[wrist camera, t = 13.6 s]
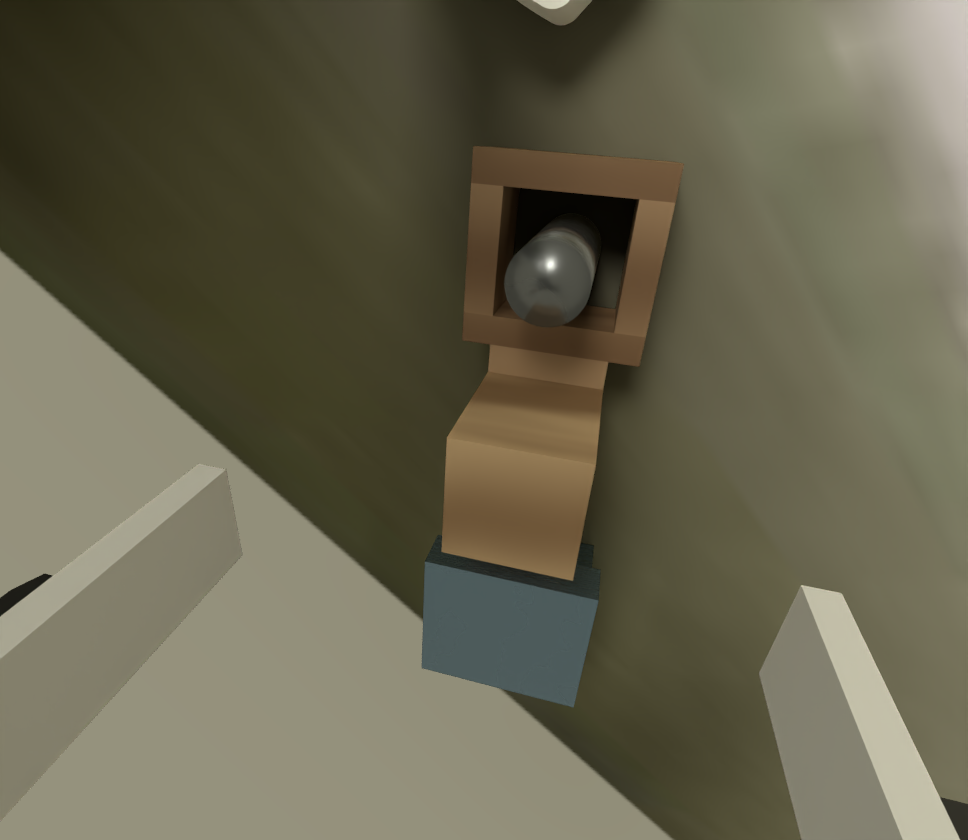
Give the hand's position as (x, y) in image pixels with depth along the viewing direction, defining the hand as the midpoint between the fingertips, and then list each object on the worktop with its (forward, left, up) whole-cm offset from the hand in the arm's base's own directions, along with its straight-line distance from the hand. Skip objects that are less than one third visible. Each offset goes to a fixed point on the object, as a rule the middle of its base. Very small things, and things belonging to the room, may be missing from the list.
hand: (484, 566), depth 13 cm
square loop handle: (-1, 0, -11) cm, 11 cm away
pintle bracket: (+2, 0, -11) cm, 11 cm away
